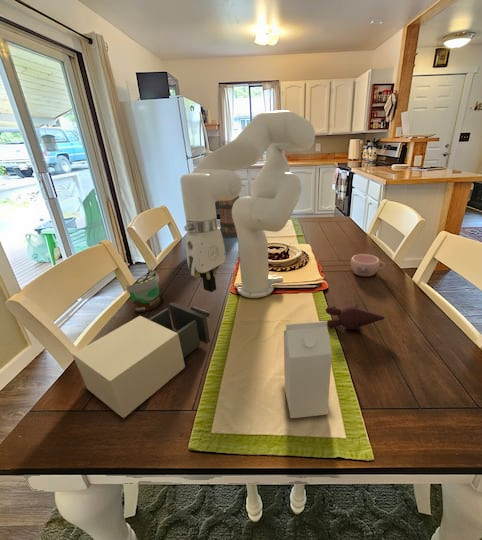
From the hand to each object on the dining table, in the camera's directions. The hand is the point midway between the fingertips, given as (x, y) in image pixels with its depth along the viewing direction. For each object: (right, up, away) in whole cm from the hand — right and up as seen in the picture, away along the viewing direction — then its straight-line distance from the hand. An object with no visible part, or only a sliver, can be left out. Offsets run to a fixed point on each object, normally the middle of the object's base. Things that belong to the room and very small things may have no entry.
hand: (210, 289), depth 79 cm
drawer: (-7, -14, -6) cm, 16 cm away
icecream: (+39, -10, -1) cm, 40 cm away
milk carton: (+23, -21, -22) cm, 38 cm away
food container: (-21, -6, +14) cm, 26 cm away
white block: (-14, -19, -14) cm, 27 cm away
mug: (+53, +4, +28) cm, 60 cm away
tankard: (+1, +26, +79) cm, 84 cm away
